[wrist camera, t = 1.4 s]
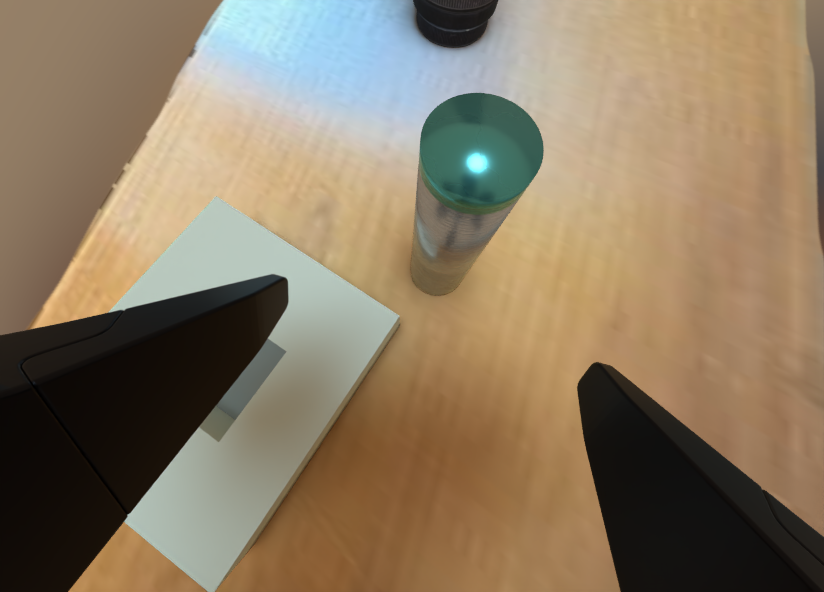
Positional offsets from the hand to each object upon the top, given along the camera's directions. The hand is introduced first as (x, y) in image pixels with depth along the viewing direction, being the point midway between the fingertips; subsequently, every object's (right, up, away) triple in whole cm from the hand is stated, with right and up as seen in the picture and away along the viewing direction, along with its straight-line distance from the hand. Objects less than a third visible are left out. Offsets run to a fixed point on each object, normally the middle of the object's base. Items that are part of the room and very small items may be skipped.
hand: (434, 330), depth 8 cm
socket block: (-12, -4, +12) cm, 17 cm away
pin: (+1, +3, +14) cm, 14 cm away
